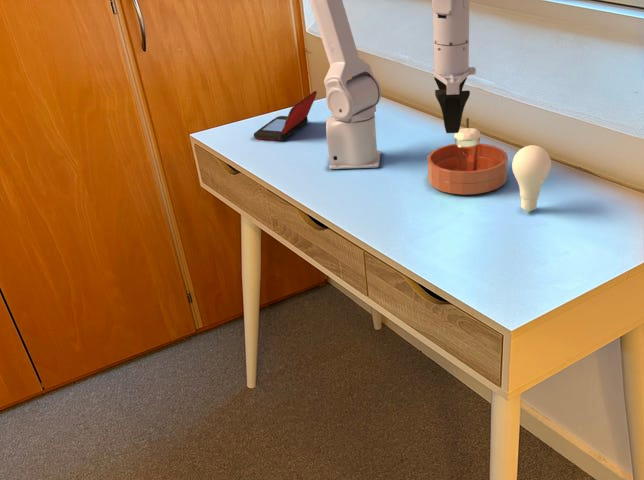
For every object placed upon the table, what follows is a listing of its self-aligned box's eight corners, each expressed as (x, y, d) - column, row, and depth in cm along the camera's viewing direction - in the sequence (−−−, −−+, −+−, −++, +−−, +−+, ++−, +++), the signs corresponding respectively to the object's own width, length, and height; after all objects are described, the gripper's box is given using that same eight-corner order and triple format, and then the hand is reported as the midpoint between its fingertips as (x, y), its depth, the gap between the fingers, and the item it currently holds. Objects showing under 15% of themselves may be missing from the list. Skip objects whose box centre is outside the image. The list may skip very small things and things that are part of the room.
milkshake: (479, 172, 133) (480, 117, 127) (479, 183, 128) (480, 128, 122) (455, 172, 133) (455, 118, 127) (454, 184, 129) (453, 128, 123)
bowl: (428, 198, 126) (427, 173, 123) (427, 167, 137) (427, 144, 134) (510, 195, 125) (511, 170, 122) (502, 164, 136) (503, 141, 134)
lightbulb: (550, 205, 121) (555, 141, 115) (543, 220, 117) (548, 155, 110) (514, 201, 123) (517, 138, 116) (506, 217, 118) (509, 152, 112)
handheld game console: (279, 120, 164) (274, 86, 159) (322, 123, 160) (318, 89, 156) (251, 139, 154) (245, 104, 150) (297, 143, 151) (292, 107, 147)
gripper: (478, 51, 111) (477, 138, 119) (473, 29, 122) (472, 110, 131) (433, 53, 111) (434, 140, 119) (431, 31, 123) (433, 111, 131)
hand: (451, 124), depth 125 cm, fingers open, 7 cm apart
